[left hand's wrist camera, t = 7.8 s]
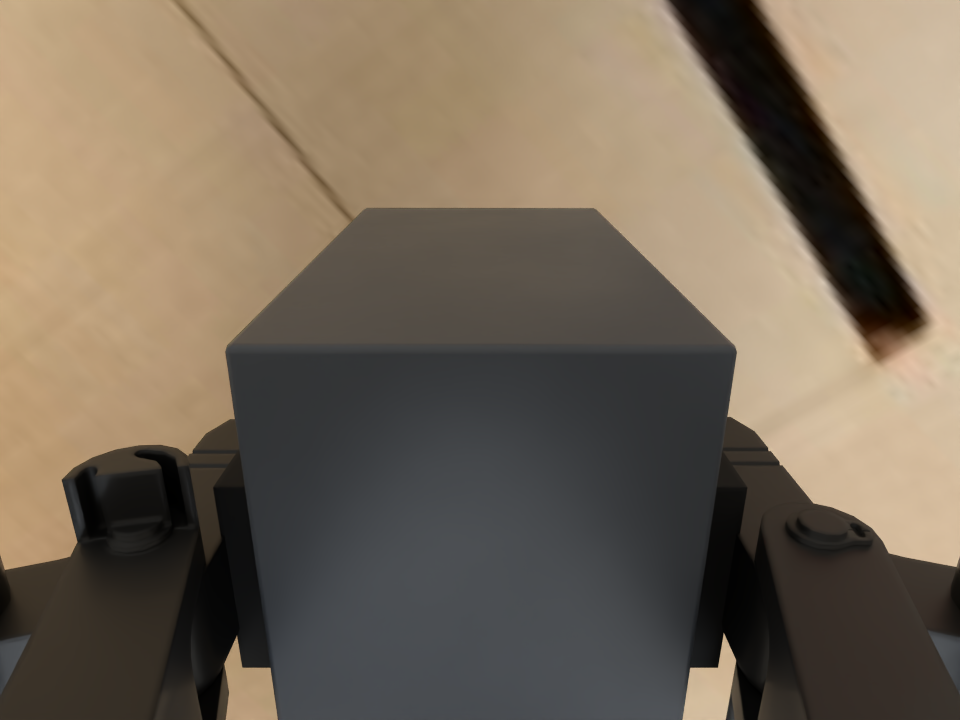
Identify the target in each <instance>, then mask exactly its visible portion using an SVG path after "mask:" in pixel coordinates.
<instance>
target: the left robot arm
mask: <svg viewBox="0 0 960 720" xmlns="http://www.w3.org/2000/svg"><path fill="white" fill-rule="evenodd" d="M62 483H63V487H64V490H65V494H66V498H67V502H68V506H69V510H70V514H71V518H72V522H73V526H74V529H75V533H76V537H77V541H78V543H77V545H76V547H75V548H74V550H73V552H72V554H71V556H70V557H68V558H64V559H60V560H55V561H50V562H45V563H40V564H34V565H29V566H24V567H19V568H14V569H8V570H5V569H4V566H3V563H2V560H1V556H0V720H226V713H227V704H228V696H229V690H228V683H227V677H226V671H225V665H224V663H225V661H226V658H227V656H228V654H229V652H230V649H231V647H232V645H233V643H234V641H235V638H236V636H237V637H238V643H239V649H240V655H241V661H242V667H243V668H271V667H270V660H269V653H268V646H267V639H266V632H265V625H264V618H263V611H262V604H261V597H260V590H259V583H258V576H257V569H256V562H255V555H254V548H253V541H252V534H251V527H250V520H249V513H248V506H247V499H246V492H245V485H244V478H243V471H242V464H241V457H240V450H239V443H238V436H237V429H236V422H235V419H230V420H228V421H227V422H225V423H223V424H222V425H220V426H218V427H217V428H215V429H213V430H212V431H210V432H208V433H207V434H206V435H205V436H204V437H203V438H202V440H201V441H200V442H199V443H198V445H197V446H196V447H195V448H194V449H193V454H189V456H187V455H186V454H184V453H183V452H182V451H180V450H179V449H177V448H173V447H168V446H163V445H139V446H133V447H128V448H122V449H117V450H113V451H110V452H108V453H105V454H102V455H99V456H96V457H93V458H91V459H89V460H87V461H86V462H84V463H82V464H80V465H78V466H77V467H75V468H73V469H72V470H71V471H70V472H69V473H68V474H67V475H66V476H65V477H64V478H63V479H62ZM723 634H725V636H726V638H727V641H728V643H729V645H730V647H731V649H732V652H733V654H734V656H735V658H736V665H735V671H734V677H733V682H732V688H731V694H730V699H729V705H728V711H727V716H726V720H960V558H959V561H958V565H957V567H953V566H947V565H942V564H937V563H932V562H926V561H921V560H916V559H911V558H905V557H901V556H897V555H893V554H889V553H888V551H887V549H886V547H885V545H884V543H883V541H882V540H881V539H880V538H879V536H878V535H877V534H876V533H875V532H874V530H873V529H872V528H871V527H869V526H868V525H866V524H865V523H863V522H862V521H860V520H858V519H857V518H855V517H854V516H852V515H849V514H847V513H844V512H842V511H839V510H837V509H834V508H832V507H827V506H822V505H818V504H813V502H812V501H811V500H810V499H809V498H808V496H807V495H806V494H805V493H804V491H803V490H802V489H801V488H800V487H799V485H798V484H797V483H796V482H795V480H794V479H793V478H792V477H791V475H790V474H789V473H788V472H787V471H786V469H785V468H784V467H783V466H782V465H779V461H778V460H777V458H776V457H775V456H774V455H773V453H772V452H771V451H768V447H767V446H766V445H765V444H764V442H763V441H762V440H761V439H760V437H759V436H758V435H757V434H756V433H755V431H753V430H751V429H750V428H748V427H746V426H745V425H743V424H741V423H740V422H738V421H736V420H735V419H733V418H731V417H727V421H726V428H725V435H724V442H723V448H722V455H721V462H720V469H719V475H718V482H717V489H716V496H715V502H714V509H713V516H712V523H711V529H710V536H709V543H708V550H707V556H706V563H705V570H704V577H703V583H702V590H701V597H700V604H699V610H698V617H697V624H696V631H695V637H694V644H693V651H692V658H691V664H690V668H718V664H719V658H720V652H721V646H722V640H723Z"/></svg>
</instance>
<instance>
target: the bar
mask: <svg viewBox="0 0 960 720" xmlns="http://www.w3.org/2000/svg"><path fill="white" fill-rule="evenodd" d="M225 352H226V359H227V366H228V373H229V380H230V387H231V394H232V401H233V408H234V415H235V422H236V429H237V436H238V443H239V450H240V457H241V464H242V471H243V478H244V485H245V492H246V499H247V506H248V513H249V520H250V527H251V534H252V541H253V548H254V555H255V562H256V569H257V576H258V583H259V590H260V597H261V604H262V611H263V618H264V625H265V632H266V639H267V646H268V653H269V660H270V667H271V674H272V681H273V688H274V695H275V702H276V709H277V716H278V720H682V718H683V712H684V705H685V698H686V691H687V685H688V678H689V671H690V664H691V658H692V651H693V644H694V637H695V631H696V624H697V617H698V610H699V604H700V597H701V590H702V583H703V577H704V570H705V563H706V556H707V550H708V543H709V536H710V529H711V523H712V516H713V509H714V502H715V496H716V489H717V482H718V475H719V469H720V462H721V455H722V448H723V442H724V435H725V428H726V421H727V415H728V408H729V401H730V394H731V388H732V381H733V374H734V367H735V361H736V354H737V351H736V348H735V346H734V345H733V344H732V343H731V342H730V341H729V340H728V339H727V338H726V337H725V336H724V335H723V334H722V333H721V332H720V331H719V330H718V329H717V328H716V327H715V326H714V325H713V324H712V323H711V322H710V321H709V320H708V319H707V318H706V317H705V316H704V315H703V314H702V313H701V312H700V311H699V310H698V309H697V308H696V307H695V306H694V305H693V304H692V303H691V302H690V301H689V300H687V299H686V298H685V297H684V296H683V295H682V294H681V293H680V292H679V291H678V290H677V289H676V288H675V287H674V286H673V285H672V284H671V283H670V282H669V281H668V280H667V279H666V278H665V277H664V276H663V275H662V274H661V273H660V272H659V271H658V270H657V269H656V268H655V267H654V266H653V265H652V264H651V263H650V262H649V261H648V260H647V259H646V258H645V257H644V256H643V255H642V254H641V253H640V252H639V251H638V250H637V249H636V248H635V247H634V246H633V245H632V244H631V243H630V242H629V241H628V240H627V239H626V238H625V237H623V236H622V235H621V234H620V233H619V232H618V231H617V230H616V229H615V228H614V227H613V226H612V225H611V224H610V223H609V222H608V221H607V220H606V219H605V218H604V217H603V216H602V215H601V214H600V213H599V212H598V211H597V210H596V209H594V208H366V209H364V210H363V211H362V212H361V213H360V214H359V215H358V216H357V217H356V218H355V219H354V220H353V221H352V222H351V223H350V224H349V225H348V226H347V227H346V228H345V229H344V230H343V231H342V232H341V233H340V234H339V235H338V236H337V237H336V238H335V239H334V240H333V241H332V242H331V243H330V244H329V245H328V246H327V247H326V248H325V249H324V250H323V251H322V252H321V253H320V254H319V255H318V256H317V257H316V258H315V259H314V260H313V261H312V262H311V263H310V264H309V265H308V266H307V267H306V268H305V269H304V270H303V271H302V272H301V273H300V274H299V275H298V276H297V277H296V278H295V279H294V280H293V281H292V282H291V283H290V284H289V285H288V286H287V287H286V288H285V289H284V290H283V291H282V292H281V293H280V294H279V295H278V296H277V297H276V298H275V299H274V300H273V301H272V302H270V303H269V304H268V305H267V306H266V307H265V308H264V309H263V310H262V311H261V312H260V313H259V314H258V315H257V316H256V317H255V318H254V319H253V320H252V321H251V322H250V323H249V324H248V325H247V326H246V327H245V328H244V329H243V330H242V331H241V332H240V333H239V334H238V335H237V336H236V337H235V338H234V339H233V340H232V341H231V342H230V343H229V344H228V345H227V348H226V351H225Z"/></svg>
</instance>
